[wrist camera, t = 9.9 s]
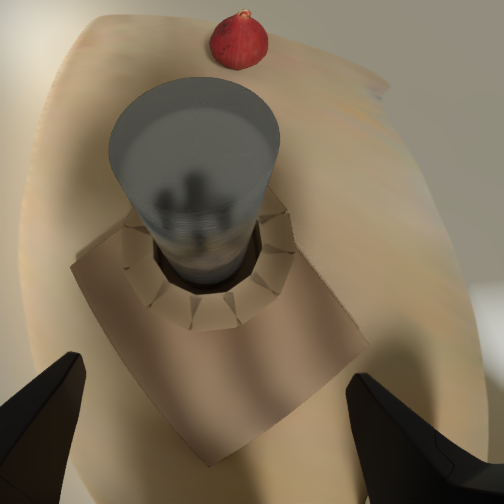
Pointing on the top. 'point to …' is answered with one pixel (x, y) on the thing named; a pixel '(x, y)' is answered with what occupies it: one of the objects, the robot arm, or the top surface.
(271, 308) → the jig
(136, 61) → the top surface
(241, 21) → the pomegranate
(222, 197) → the chrome metal cylinder
